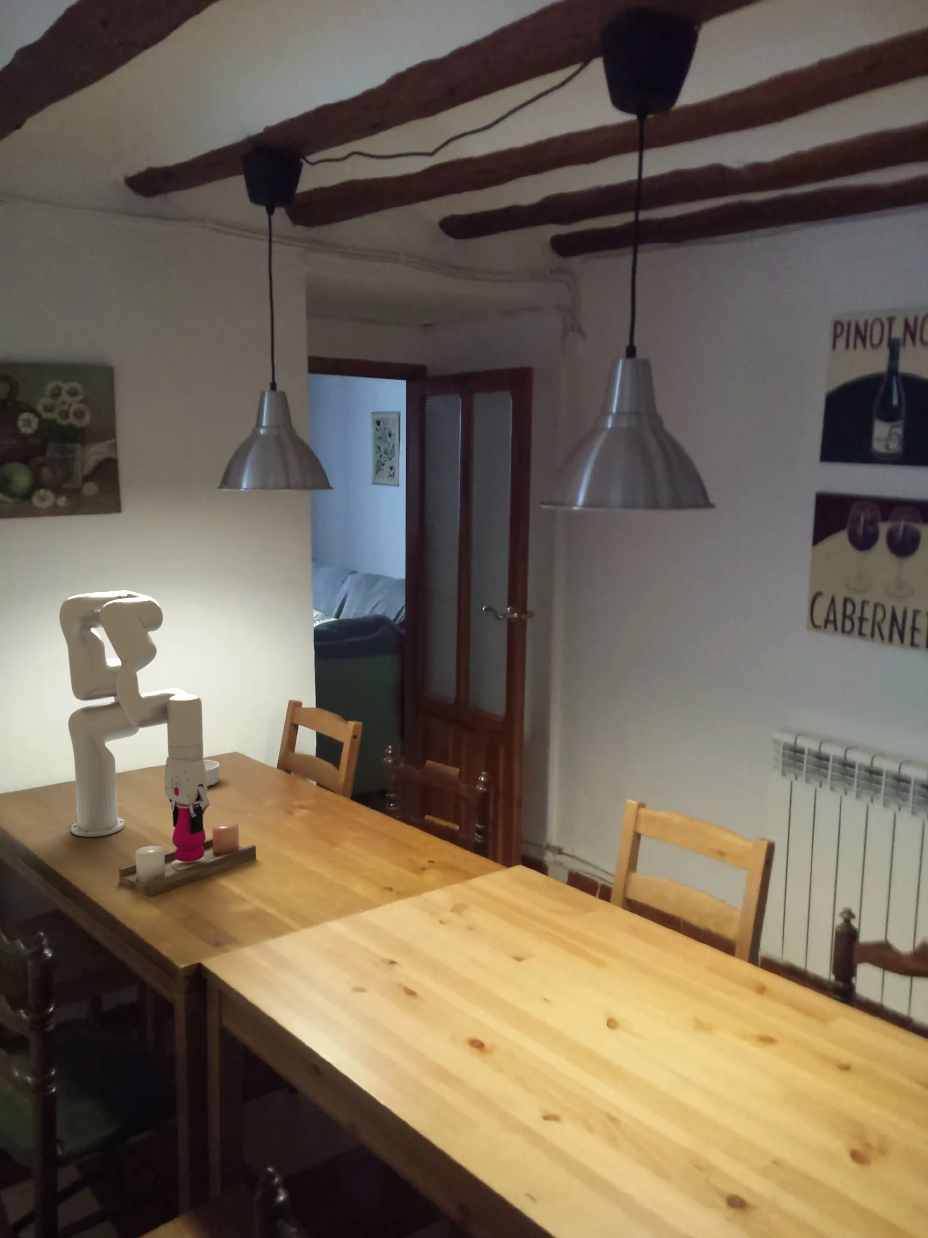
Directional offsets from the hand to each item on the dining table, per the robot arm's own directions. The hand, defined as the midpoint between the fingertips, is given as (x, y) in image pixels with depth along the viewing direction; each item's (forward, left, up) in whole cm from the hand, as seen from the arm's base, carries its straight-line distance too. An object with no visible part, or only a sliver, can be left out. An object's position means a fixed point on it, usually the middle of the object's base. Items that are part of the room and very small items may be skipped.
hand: (188, 828), depth 224 cm
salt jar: (0, -10, -8) cm, 13 cm away
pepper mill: (0, 0, -7) cm, 7 cm away
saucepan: (-56, +41, -10) cm, 70 cm away
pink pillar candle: (0, +10, -8) cm, 13 cm away
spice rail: (0, 0, -10) cm, 10 cm away
